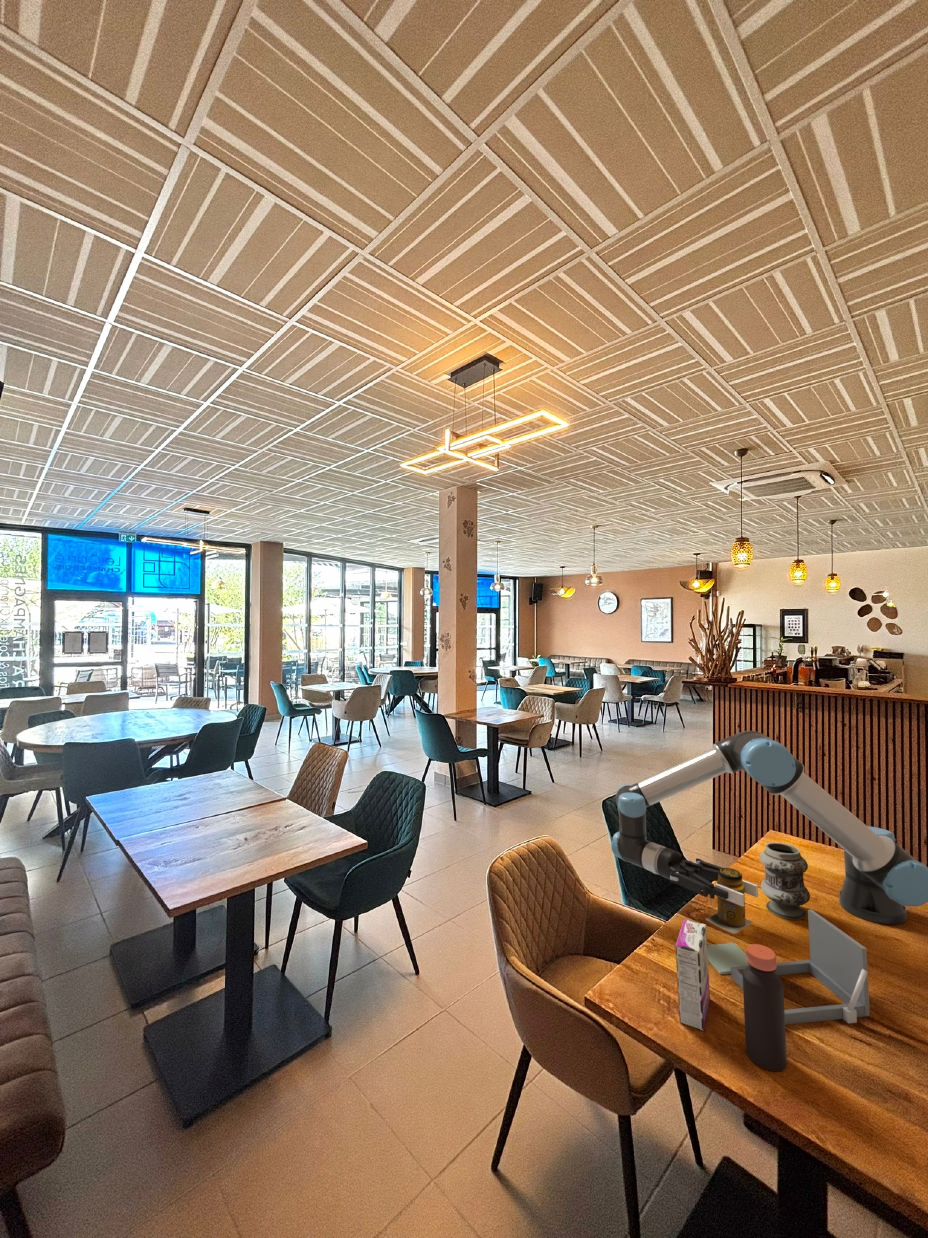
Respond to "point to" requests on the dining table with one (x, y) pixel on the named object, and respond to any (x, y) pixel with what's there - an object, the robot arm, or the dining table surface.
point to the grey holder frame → (828, 973)
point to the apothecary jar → (784, 880)
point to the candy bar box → (692, 974)
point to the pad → (726, 957)
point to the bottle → (764, 1009)
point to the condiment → (730, 903)
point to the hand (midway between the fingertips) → (750, 895)
